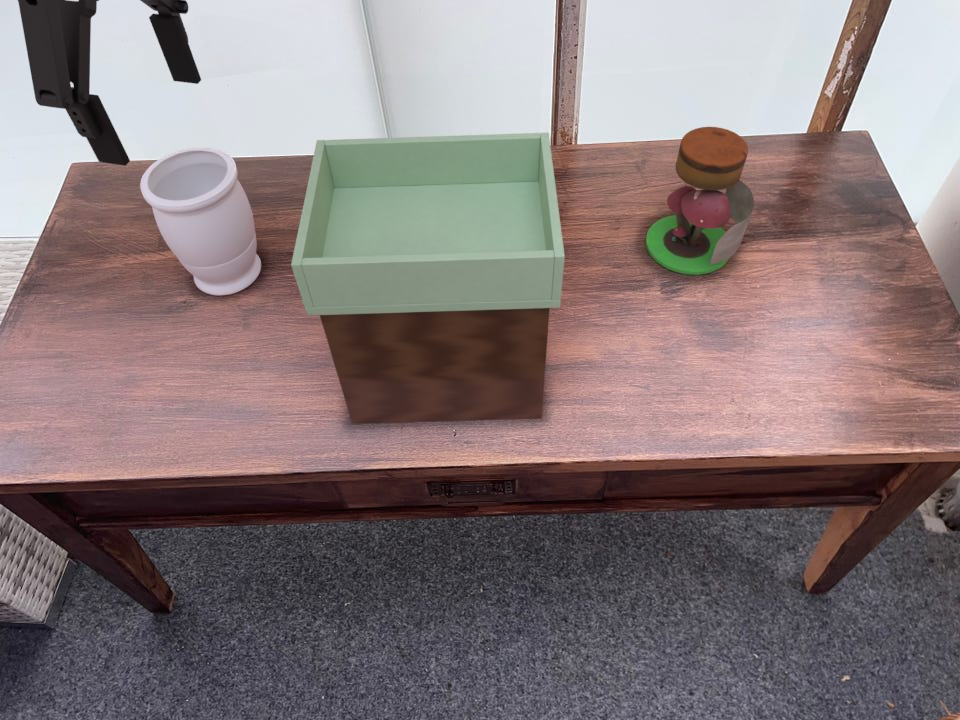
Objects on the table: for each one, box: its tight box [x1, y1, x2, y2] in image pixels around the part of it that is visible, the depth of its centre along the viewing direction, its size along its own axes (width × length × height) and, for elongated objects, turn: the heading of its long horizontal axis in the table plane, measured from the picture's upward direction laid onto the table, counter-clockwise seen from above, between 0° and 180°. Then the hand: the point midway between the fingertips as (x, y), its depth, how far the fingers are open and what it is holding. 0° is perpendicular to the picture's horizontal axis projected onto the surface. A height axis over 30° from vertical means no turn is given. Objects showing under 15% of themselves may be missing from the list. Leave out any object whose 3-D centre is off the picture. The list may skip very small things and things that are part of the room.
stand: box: [319, 308, 551, 425], centre depth 74 cm, size 20×15×18 cm
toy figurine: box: [645, 126, 755, 276], centre depth 85 cm, size 12×13×15 cm
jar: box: [139, 146, 262, 297], centre depth 85 cm, size 11×10×15 cm
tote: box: [290, 132, 566, 316], centre depth 64 cm, size 22×17×6 cm
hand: (153, 118), depth 69 cm, fingers open, 13 cm apart
